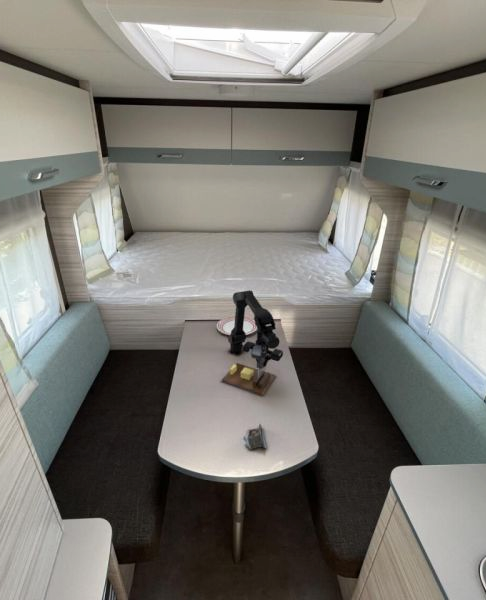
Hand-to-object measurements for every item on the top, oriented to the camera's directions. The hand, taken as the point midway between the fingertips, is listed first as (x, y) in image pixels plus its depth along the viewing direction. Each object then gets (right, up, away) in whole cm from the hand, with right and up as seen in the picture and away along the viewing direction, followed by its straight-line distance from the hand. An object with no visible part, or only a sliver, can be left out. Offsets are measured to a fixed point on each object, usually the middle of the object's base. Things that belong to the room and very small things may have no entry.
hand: (261, 365), depth 157 cm
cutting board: (-6, -8, +7) cm, 13 cm away
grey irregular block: (-5, -24, -28) cm, 37 cm away
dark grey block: (0, -4, +2) cm, 5 cm away
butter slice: (-14, -5, +10) cm, 18 cm away
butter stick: (-7, -7, +7) cm, 12 cm away
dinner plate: (-12, +13, +56) cm, 58 cm away
